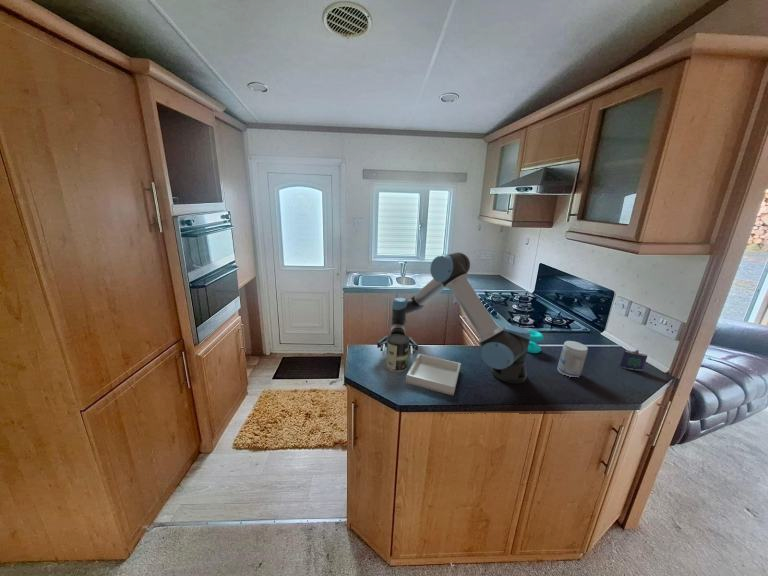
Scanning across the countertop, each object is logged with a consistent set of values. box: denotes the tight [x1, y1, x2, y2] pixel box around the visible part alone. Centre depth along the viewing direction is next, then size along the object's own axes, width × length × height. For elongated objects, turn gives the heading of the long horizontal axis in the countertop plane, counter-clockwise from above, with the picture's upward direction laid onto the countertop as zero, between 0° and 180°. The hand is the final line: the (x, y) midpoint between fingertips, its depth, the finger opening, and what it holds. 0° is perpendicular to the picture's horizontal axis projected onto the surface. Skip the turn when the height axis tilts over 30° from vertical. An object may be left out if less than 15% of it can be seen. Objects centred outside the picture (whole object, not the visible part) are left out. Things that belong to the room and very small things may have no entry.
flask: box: [619, 349, 648, 370], centre depth 143 cm, size 9×3×11 cm, turn 68°
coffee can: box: [385, 334, 410, 373], centre depth 134 cm, size 10×10×14 cm
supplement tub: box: [557, 340, 589, 378], centre depth 136 cm, size 10×10×15 cm
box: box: [405, 353, 462, 397], centre depth 129 cm, size 20×20×4 cm
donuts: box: [527, 329, 545, 354], centre depth 158 cm, size 10×10×10 cm
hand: (397, 354), depth 131 cm, fingers open, 12 cm apart
